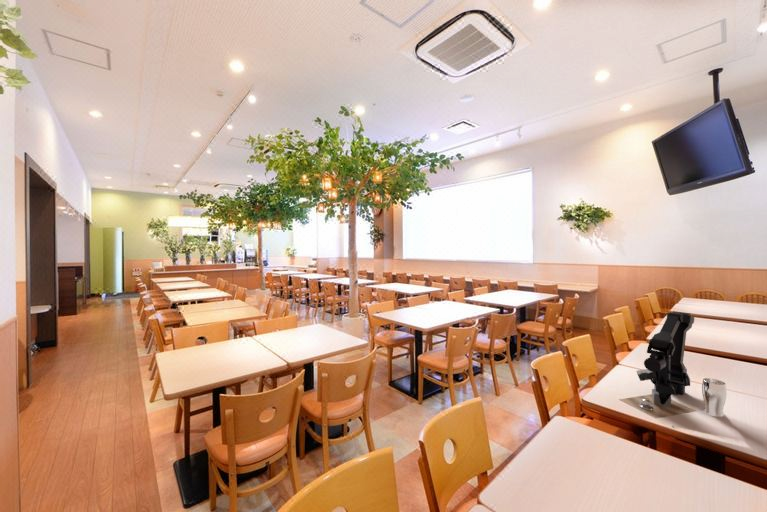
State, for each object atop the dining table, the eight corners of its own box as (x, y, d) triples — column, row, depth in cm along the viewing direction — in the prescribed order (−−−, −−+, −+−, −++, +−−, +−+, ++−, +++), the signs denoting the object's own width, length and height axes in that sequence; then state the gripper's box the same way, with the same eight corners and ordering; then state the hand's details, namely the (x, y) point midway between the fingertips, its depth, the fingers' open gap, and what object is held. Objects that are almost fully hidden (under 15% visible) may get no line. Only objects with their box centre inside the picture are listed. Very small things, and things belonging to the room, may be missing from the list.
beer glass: (718, 413, 133) (719, 378, 132) (730, 422, 126) (731, 386, 125) (697, 411, 135) (698, 376, 134) (708, 420, 128) (708, 383, 128)
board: (657, 396, 148) (657, 393, 148) (697, 414, 133) (697, 410, 133) (618, 402, 144) (618, 399, 144) (655, 421, 128) (655, 418, 128)
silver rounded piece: (644, 403, 140) (644, 396, 140) (656, 409, 135) (656, 402, 135) (634, 404, 139) (634, 397, 139) (646, 410, 134) (646, 403, 134)
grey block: (651, 398, 144) (651, 388, 144) (668, 401, 141) (668, 391, 141) (654, 403, 139) (654, 393, 139) (670, 407, 136) (671, 396, 136)
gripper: (635, 356, 151) (635, 388, 152) (641, 370, 136) (640, 405, 136) (666, 360, 145) (665, 394, 146) (675, 375, 130) (675, 412, 130)
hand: (661, 401), depth 140 cm, fingers closed on grey block, 6 cm apart
